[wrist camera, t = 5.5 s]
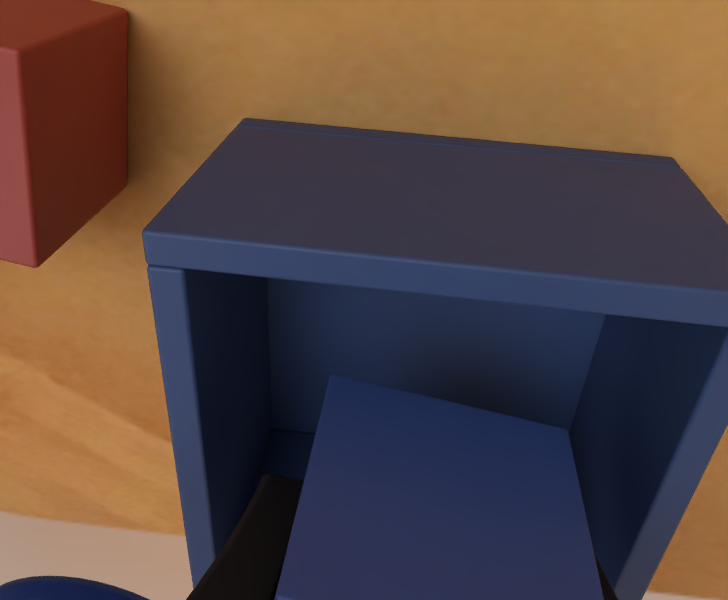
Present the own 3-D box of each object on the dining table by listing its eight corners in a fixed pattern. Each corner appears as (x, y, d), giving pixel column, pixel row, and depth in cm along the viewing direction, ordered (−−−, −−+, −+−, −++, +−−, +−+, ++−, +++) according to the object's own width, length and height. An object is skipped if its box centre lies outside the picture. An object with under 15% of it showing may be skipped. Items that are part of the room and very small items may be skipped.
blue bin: (572, 464, 19) (613, 660, 14) (257, 425, 19) (193, 601, 14) (674, 156, 14) (791, 298, 9) (243, 116, 14) (139, 230, 9)
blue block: (568, 428, 11) (622, 678, 7) (492, 571, 13) (507, 813, 9) (331, 371, 11) (274, 597, 7) (295, 524, 13) (239, 752, 9)
